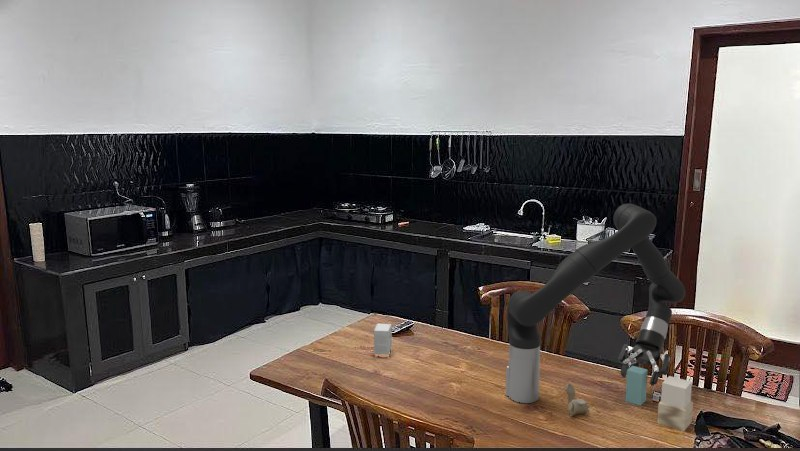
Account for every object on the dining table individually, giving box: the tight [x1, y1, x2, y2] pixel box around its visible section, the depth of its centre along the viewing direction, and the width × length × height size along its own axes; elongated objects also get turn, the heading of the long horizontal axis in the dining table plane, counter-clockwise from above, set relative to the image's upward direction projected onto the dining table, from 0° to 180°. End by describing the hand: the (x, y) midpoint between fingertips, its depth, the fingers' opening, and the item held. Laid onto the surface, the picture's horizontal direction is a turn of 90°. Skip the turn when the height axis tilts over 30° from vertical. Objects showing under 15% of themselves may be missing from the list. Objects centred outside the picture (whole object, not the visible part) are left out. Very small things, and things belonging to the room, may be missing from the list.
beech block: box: [657, 400, 694, 432], centre depth 159 cm, size 7×7×6 cm
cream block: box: [660, 375, 693, 410], centre depth 158 cm, size 6×6×6 cm
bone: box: [565, 382, 590, 417], centre depth 165 cm, size 9×6×10 cm
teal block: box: [624, 365, 649, 407], centre depth 171 cm, size 4×4×10 cm
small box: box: [373, 323, 393, 354], centre depth 212 cm, size 8×6×10 cm
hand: (637, 380), depth 172 cm, fingers open, 8 cm apart
